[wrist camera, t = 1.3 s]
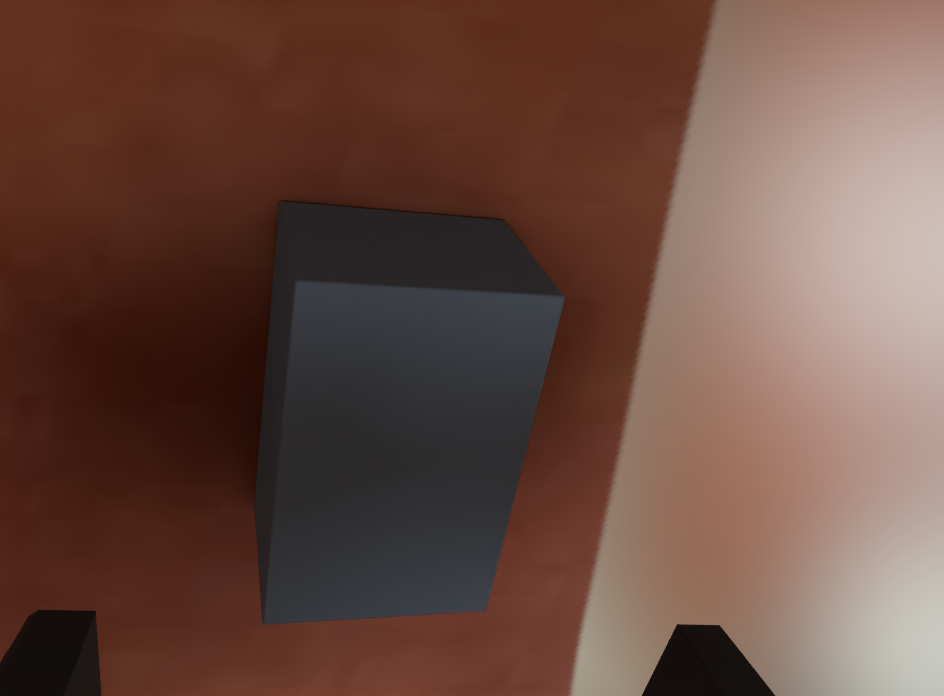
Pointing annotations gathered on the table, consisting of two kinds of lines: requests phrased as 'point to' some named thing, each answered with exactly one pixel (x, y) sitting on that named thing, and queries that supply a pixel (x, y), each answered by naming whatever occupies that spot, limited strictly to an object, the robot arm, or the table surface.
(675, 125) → the table surface
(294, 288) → the loose pad
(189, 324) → the table surface
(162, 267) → the table surface
